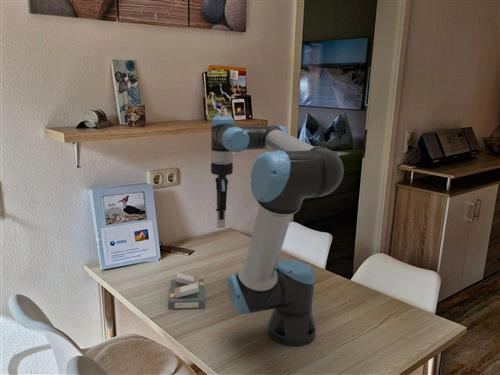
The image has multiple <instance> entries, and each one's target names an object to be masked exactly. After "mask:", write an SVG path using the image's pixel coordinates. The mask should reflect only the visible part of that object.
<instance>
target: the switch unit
mask: <svg viewBox="0 0 500 375" xmlns="http://www.w3.org/2000/svg"><path fill="white" fill-rule="evenodd" d="M204 279H205V278H199V283H198V285H199V292H197V293H193V294H189V295H185V296H182V297H178V298H176V296H175V288H178V287H182V286H186V285H189V284H185V283H181V282H176V279H171V280H170V287H169V288H170V289H169V296H168V297H169V298H168V310H169V311H170V310H193V309H194V310H195V309H196V310H197V309H204V310H205V307H206V305H205V303H206V301H205V280H204Z"/></svg>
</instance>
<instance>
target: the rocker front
mask: <svg viewBox="0 0 500 375" xmlns="http://www.w3.org/2000/svg"><path fill="white" fill-rule="evenodd" d="M197 292H199V285H198V282H197V283H193V284H190V285H186V286H182V287H178V288H175V296H176V298H178V297H182V296H185V295H189V294H193V293H197Z"/></svg>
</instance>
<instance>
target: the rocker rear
mask: <svg viewBox="0 0 500 375" xmlns="http://www.w3.org/2000/svg"><path fill="white" fill-rule="evenodd" d="M199 279H200V278H199V277H198V276H194V275H191V274H190V275H189V274H186V273H181V272H177V273H176V276H175V280H176V282H181V283H185V284H189V285H190V284H193V283H197V282H198V283H199Z"/></svg>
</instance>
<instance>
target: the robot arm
mask: <svg viewBox="0 0 500 375" xmlns="http://www.w3.org/2000/svg"><path fill="white" fill-rule="evenodd" d="M210 133H211V134H210V135H211V136H210V137H211V138H210V140H211V141H210V143H211V144H210V146H211V147H210V161H211V163H210V173H211V174H212V175H215V176H217V177H215V190H216V202H215V204H216V208H215V211H216V228H217V229H224V228H226V211H227V197H228V196H227V195H228V194H227V193H228V188H229V186H228V184H229V179H228V178H227V176H231V175H232V174H233V171H234V163H233V162H234V161H233V160H234V157H233V156H236V154H235V153H241V152H243V151H246V150H247V151H248V150H253V151H254V150H267V151H268V152H267V151H266V152H263V153H261V154H260V155H259V156H258V157H257V158H256V159H255V161H254V163H253V165H252V168H251V172H250V180H251V181H250V189H251V193H252V195H253V197H254V198H255V200H256V203H257V204H258V206H259V207H258V209H257V213H256V217H255V218H256V219H255V223H254V226H253V230H252V234H251V238H250V243H249V247H248V251H247V255H246V260H245V261H243V262H242V263H241V264H240V265H239V266H238V269H237V273H232V274H229V276H228V277H227V289H228V290H227V291H228V294H229V299H230V302H231V306H232V308H233V309H234V311H235V312H236V313H237V314H238V315H246V314H248V315H250V314H253V313H258V312H264V311H269V310H272V313H271V315H270V316H269V320H268V322H267V334H268V336H269V337H270V338H271V339H272V340H273V341H275V342H277V343H279V344H281V345H286V346H290V347H299V346H305V345H308V344H310V343H311V342H313V341H314V339H315V338H316V333H317V325H316V323H315V318H314V315H313V312H312V311H313V302H314V299H313V298H314V290H315V282H316V281H315V271H314V268H312V267H311V266H310V265H309V264H308V263H306V262H304V261H301V260H296V259H290V258H289V259H288V258H284V259H281V260H279V258H280V255H281V252H282V249H283V245H284V243H285V239H286V235H287V232H288V229H289V225H290V222H291V219H292V215H294V214H297V213H298V212H299V211H300V210H301V207H302V205H303V203H304V199H311V198H319V197H324V196H327V195H329V194H331V193H332V192H334V191H335V190H336V189H337V188H338V187H339V186H340V184H341V183H342V180H343V177H344V168H345V167H344V164H343V162H342V159H341V157H340V156H339V155H338V154H337V153H336V152H334V151H333V150H331V149H329V148H327V147H325V146H320V145H318V146H314V145H311V144H309V143H308V142H305V141H303V140H301V139H299V138H297V137H295V136H293V135H291V134H289V132H288V130H287V128H286V127H285V126H284V125H276V124H274V125H259V126H258V125H257V126H255V125H246V126H245V125H244V126H243V125H239V126H237V125H236V126H235V120H234V118H233V117H231V116H225V115H224V116H214V117H212V118H211V125H210ZM312 340H313V341H312Z"/></svg>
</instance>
